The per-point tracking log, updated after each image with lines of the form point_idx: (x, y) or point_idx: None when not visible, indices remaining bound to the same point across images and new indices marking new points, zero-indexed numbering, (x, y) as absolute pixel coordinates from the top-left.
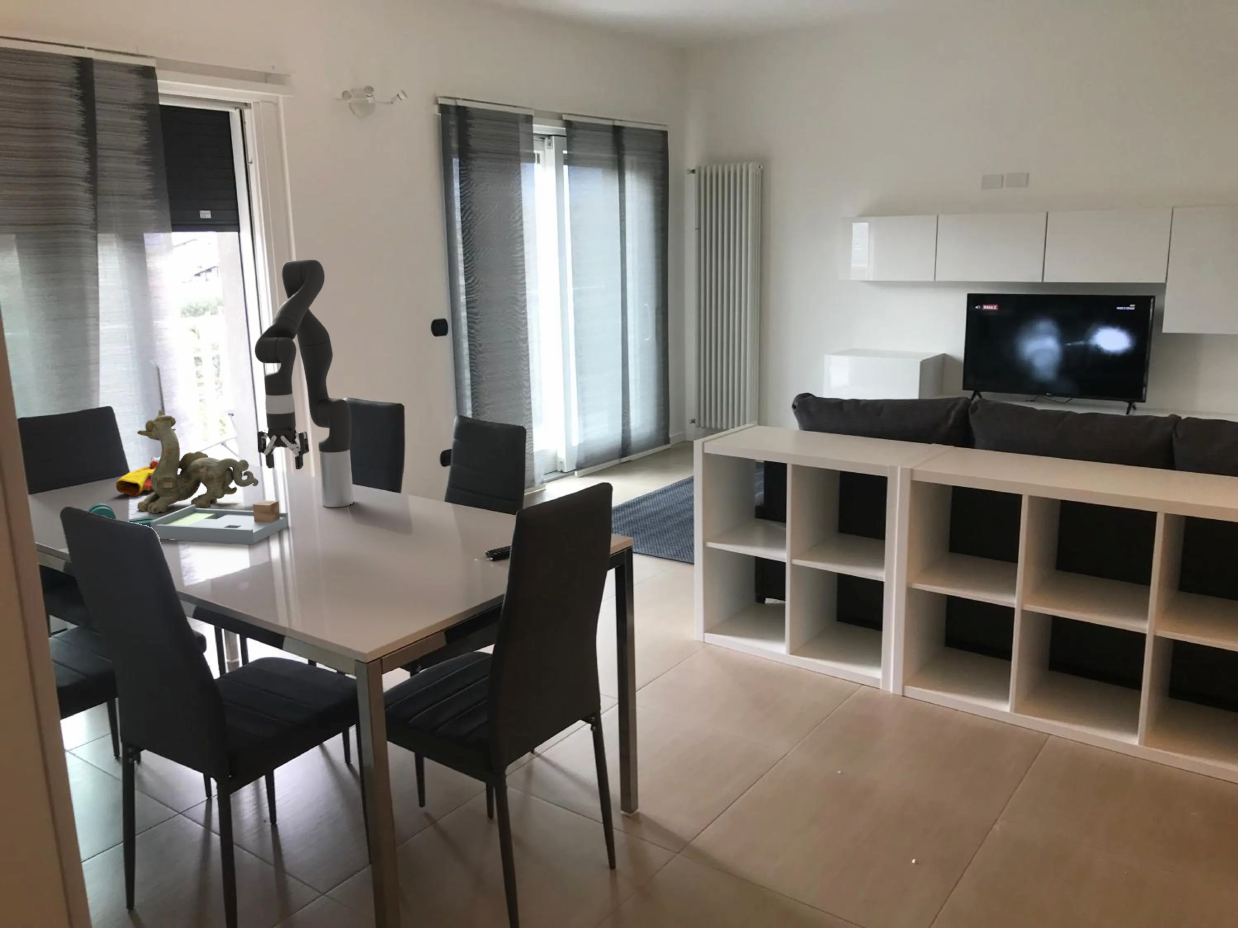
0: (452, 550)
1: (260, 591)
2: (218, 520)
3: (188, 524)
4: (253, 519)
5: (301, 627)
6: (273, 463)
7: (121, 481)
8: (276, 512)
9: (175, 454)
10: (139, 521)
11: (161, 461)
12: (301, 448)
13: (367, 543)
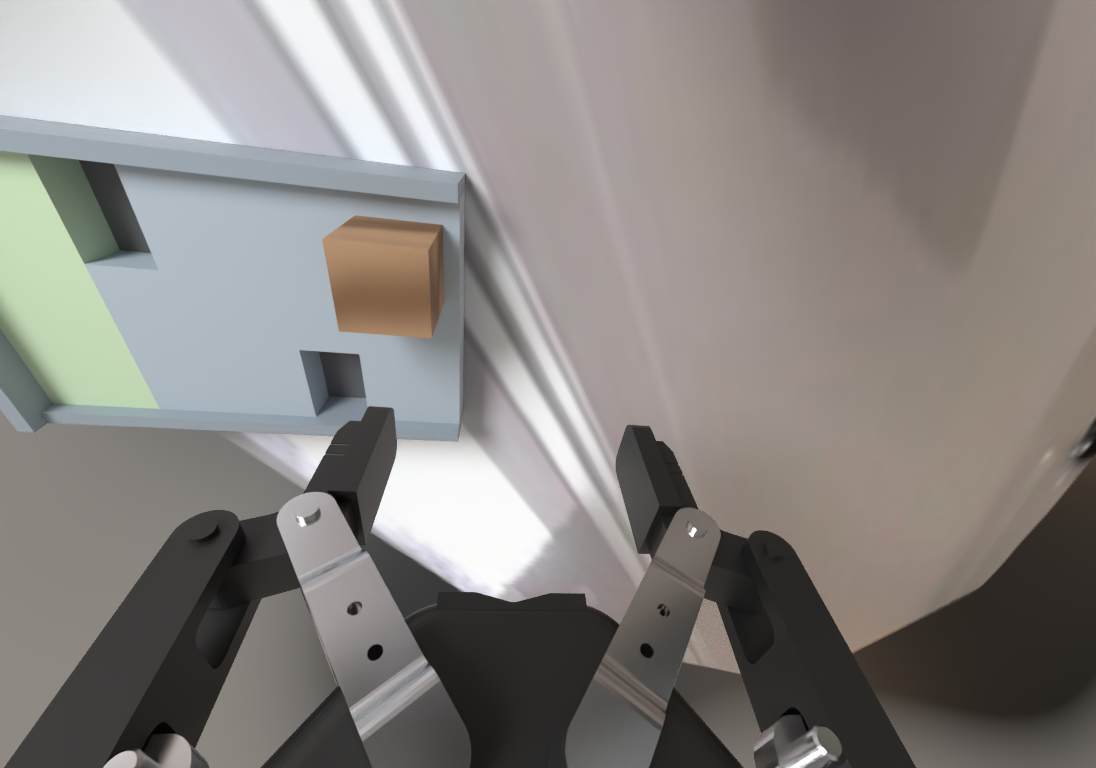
0: (1025, 405)
1: (624, 608)
2: (189, 289)
3: (124, 355)
4: None
5: (714, 663)
6: (385, 431)
7: None
8: (438, 260)
9: None
10: None
11: None
12: (741, 637)
13: (807, 370)
